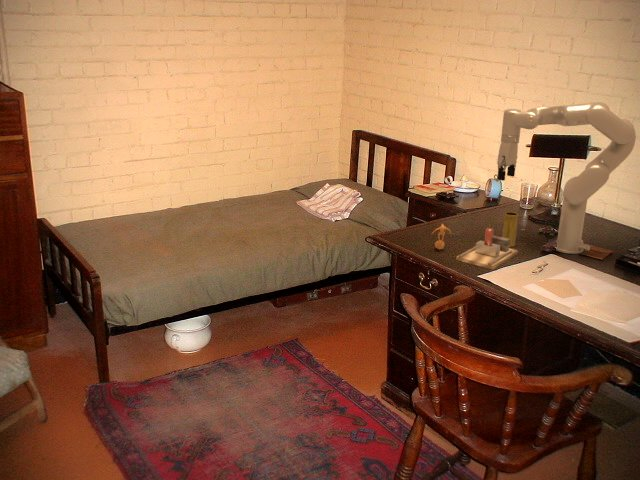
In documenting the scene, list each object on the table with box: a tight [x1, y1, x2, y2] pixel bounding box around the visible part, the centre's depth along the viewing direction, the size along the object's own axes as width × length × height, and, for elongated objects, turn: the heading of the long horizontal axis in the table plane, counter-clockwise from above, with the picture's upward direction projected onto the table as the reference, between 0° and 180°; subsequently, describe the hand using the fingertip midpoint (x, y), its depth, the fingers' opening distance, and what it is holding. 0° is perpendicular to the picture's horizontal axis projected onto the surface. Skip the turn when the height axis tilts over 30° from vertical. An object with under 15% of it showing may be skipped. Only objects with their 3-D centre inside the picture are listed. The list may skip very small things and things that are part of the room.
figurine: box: [431, 223, 452, 251], centre depth 278 cm, size 8×6×12 cm
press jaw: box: [475, 227, 500, 257], centre depth 270 cm, size 9×4×10 cm, turn 50°
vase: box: [501, 211, 519, 248], centre depth 285 cm, size 6×6×14 cm
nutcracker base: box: [455, 234, 519, 271], centre depth 272 cm, size 16×24×6 cm, turn 141°
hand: (505, 178), depth 285 cm, fingers open, 9 cm apart
